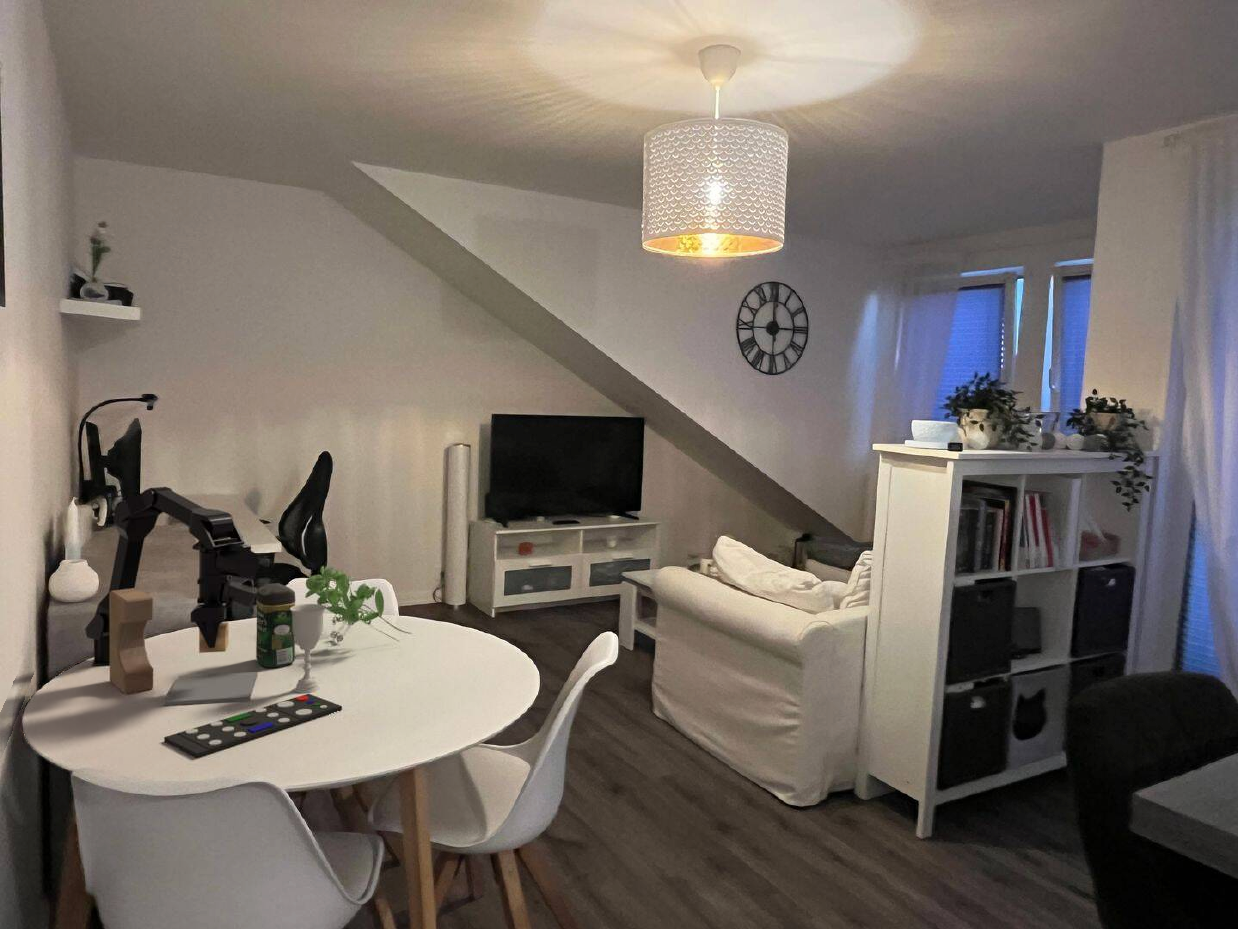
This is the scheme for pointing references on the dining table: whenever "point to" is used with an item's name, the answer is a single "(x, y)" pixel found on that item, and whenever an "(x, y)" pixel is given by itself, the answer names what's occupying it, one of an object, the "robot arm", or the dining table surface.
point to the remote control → (251, 725)
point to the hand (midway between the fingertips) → (213, 644)
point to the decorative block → (129, 640)
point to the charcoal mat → (212, 688)
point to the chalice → (307, 639)
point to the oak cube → (220, 641)
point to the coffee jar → (275, 625)
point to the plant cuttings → (345, 599)
